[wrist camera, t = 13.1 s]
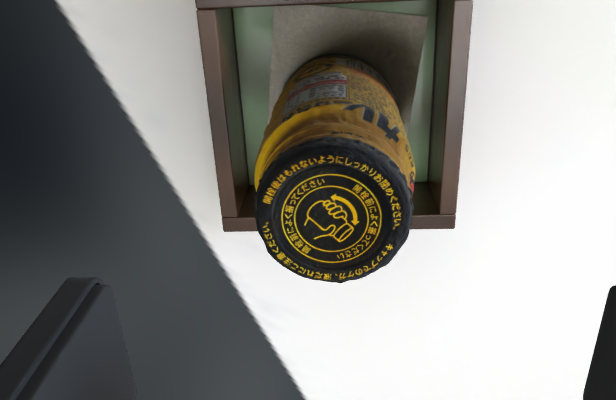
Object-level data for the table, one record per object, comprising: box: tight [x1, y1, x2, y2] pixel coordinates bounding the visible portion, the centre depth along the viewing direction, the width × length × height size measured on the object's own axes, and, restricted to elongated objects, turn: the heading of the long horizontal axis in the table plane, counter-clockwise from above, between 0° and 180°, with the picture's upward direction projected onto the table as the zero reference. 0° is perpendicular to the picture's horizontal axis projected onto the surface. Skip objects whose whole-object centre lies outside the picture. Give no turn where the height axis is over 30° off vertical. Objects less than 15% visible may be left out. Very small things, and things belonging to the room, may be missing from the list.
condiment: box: [254, 5, 428, 283], centre depth 23 cm, size 7×8×12 cm
